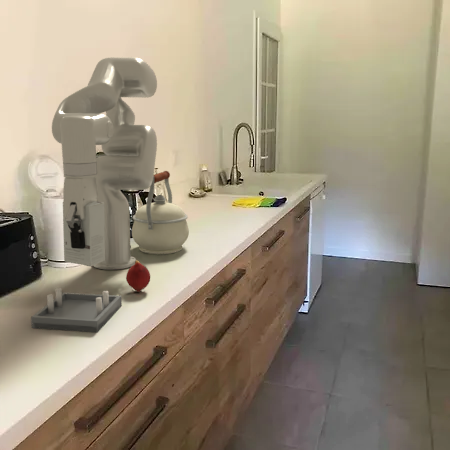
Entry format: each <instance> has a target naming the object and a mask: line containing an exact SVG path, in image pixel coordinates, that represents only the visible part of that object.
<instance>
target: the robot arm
mask: <svg viewBox="0 0 450 450" xmlns="http://www.w3.org/2000/svg"><path fill="white" fill-rule="evenodd" d="M157 88H158V80H157V75H156V73H155V71H154V69H153V68H152V67H151V66H150V65H149V64H148V63H147V62H146V61H145V60H143V59H142V58H138V57H105V58H102V59H101V60H99V61H98V62H97V64H96V66H95V68H94V70H93V72H92V75H91V77H90V79H89V81H88V84H87V86H85V87H82V88H81V89H79V90H77V91H75V92H73V93H71V94H70V95H68V96H67V97H65V98H64V99H63V100H62V101H61V102H60V103H59V105H58V106H57V109H56V111H55V113H54V116H53V119H52V122H51V134H52V136H53V139H54V140H55V141H56V142H57V143H59V144H61V154H62V171H63V177H64V180H63V193H62V195H63V198H62V199H63V200H62V206H63V205H64V218H65V219H66V222H67V223H68V227H69V231H70V236H71V247H72V248H76V249H84V248H85V235H84V232H82V231H83V220H85V217H86V205H88V204H90V203H92V202H94V201H98V202H103V203H104V225H105V260H104V261H102V262H100V263H97V264H95V265H93V266H92V267H94V268H96V269H99V270H105V271H106V270H109V271H110V270H111V271H112V270H122V269H123V270H124V269H128V268H131V267H132V266H133V265H135V261H136V260H137V259H136V257H134V256H132V253H131V249H132V245H131V228H130V227H131V225H130V223H131V217H130V204H129V201H128V199H127V197H126V196H125V194H124V193H123V192H122V191H124V190H125V191H126V190H131V191H133V190H134V191H135V190H136V191H141V190H147V189H150V186H151V184H152V181H153V175H155V174H154V173H155V166H156V160H157V159H156V158H157V150H158V148H157V147H158V139H157V135H156V131H155V130H154V128H153V127H151V126H149V125H146V124H135V122H136V115H135V112H134V111H133V109H132V108H131V106H129V104H128V103H126V102H125V101H124V100H123V99H122V98H151V97H153V96H154V95H155V93H156V92H157ZM103 113H105V114H103ZM96 146H101V150H102V152H103V153H104V154H105V155H100V156H98V157H97V147H96ZM121 190H122V191H121ZM77 216H80V218H75V217H77ZM75 222H79V226H78V224H77V223H75Z"/></svg>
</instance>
